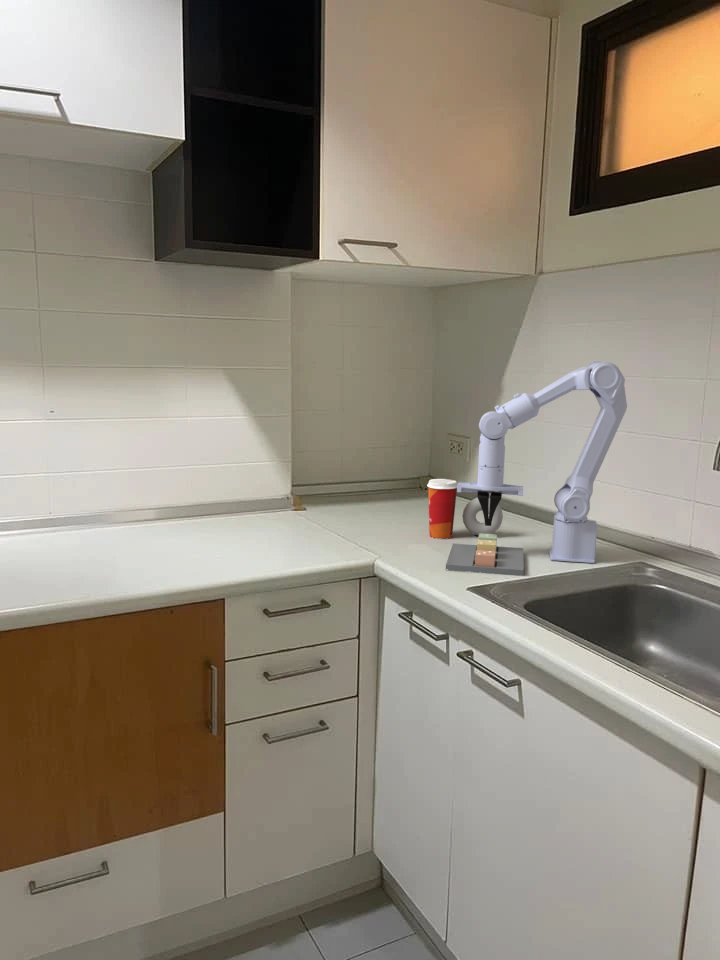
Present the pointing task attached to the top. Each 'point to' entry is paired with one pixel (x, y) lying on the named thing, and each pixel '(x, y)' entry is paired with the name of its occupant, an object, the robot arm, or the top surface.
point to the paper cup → (441, 507)
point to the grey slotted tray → (506, 564)
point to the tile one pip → (488, 537)
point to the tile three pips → (485, 558)
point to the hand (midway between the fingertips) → (488, 524)
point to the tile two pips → (486, 545)
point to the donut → (476, 526)
